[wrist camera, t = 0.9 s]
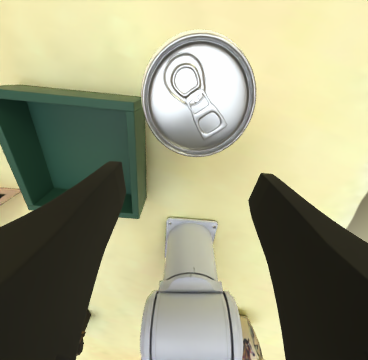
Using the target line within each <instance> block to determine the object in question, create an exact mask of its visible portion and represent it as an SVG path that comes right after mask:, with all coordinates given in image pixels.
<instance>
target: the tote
mask: <svg viewBox="0 0 368 360" xmlns="http://www.w3.org/2000/svg"><path fill="white" fill-rule="evenodd" d="M0 145H1V147H2V149H3V152H4V154H5V156H6V158H7V161H8V163H9V165H10V168H11V170H12V172H13V174H14V177H15V179H16V181H17V184H18V186H19V188H20V190H21V193H22V195H23V197H24V200H25V202H26V204H27V207H28V209H29V210H36V209H37V208H39V207H41V206H43V205H45V204H46V203H48V202H50V201H51V200H53V199H55V198H56V197H58V196H59V195H61V194H63V193H64V192H66V191H67V190H69V189H70V188H72V187H73V186H75V185H76V184H78V183H79V182H81V181H82V180H83V179H85V178H86V177H88V176H89V175H90V174H92V173H93V172H95V171H96V170H97V169H99V168H100V167H101V166H103V165H104V164H106V163H107V162H109V161H117V162H122V167H123V173H124V180H125V186H126V195H125V199H124V203H123V206H122V209H121V212H120V214H119V217H122V218H134V219H139V218H140V215H141V212H142V209H143V206H144V203H145V200H146V148H145V115H144V111H143V107H142V100H141V97H137V96H127V95H117V94H107V93H96V92H86V91H76V90H66V89H56V88H46V87H36V86H26V85H3V86H0Z"/></svg>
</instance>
